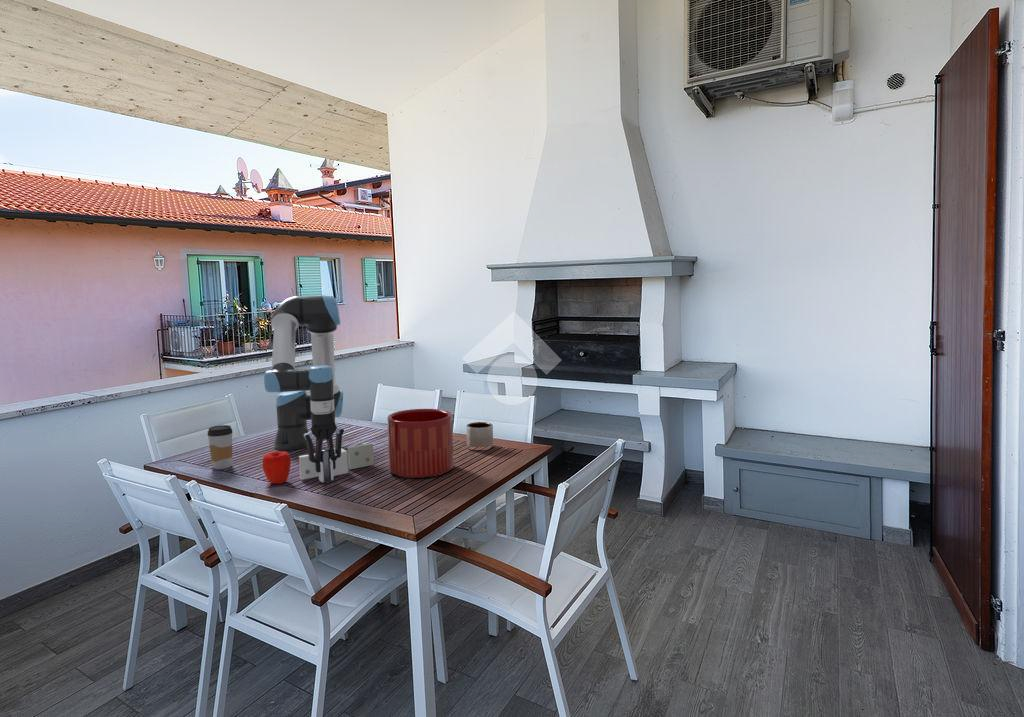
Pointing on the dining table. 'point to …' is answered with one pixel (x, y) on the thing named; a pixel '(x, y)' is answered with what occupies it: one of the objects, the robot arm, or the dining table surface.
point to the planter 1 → (420, 442)
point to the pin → (326, 465)
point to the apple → (277, 466)
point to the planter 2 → (479, 434)
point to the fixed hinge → (310, 470)
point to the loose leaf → (360, 456)
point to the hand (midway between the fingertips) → (326, 479)
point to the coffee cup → (220, 446)
